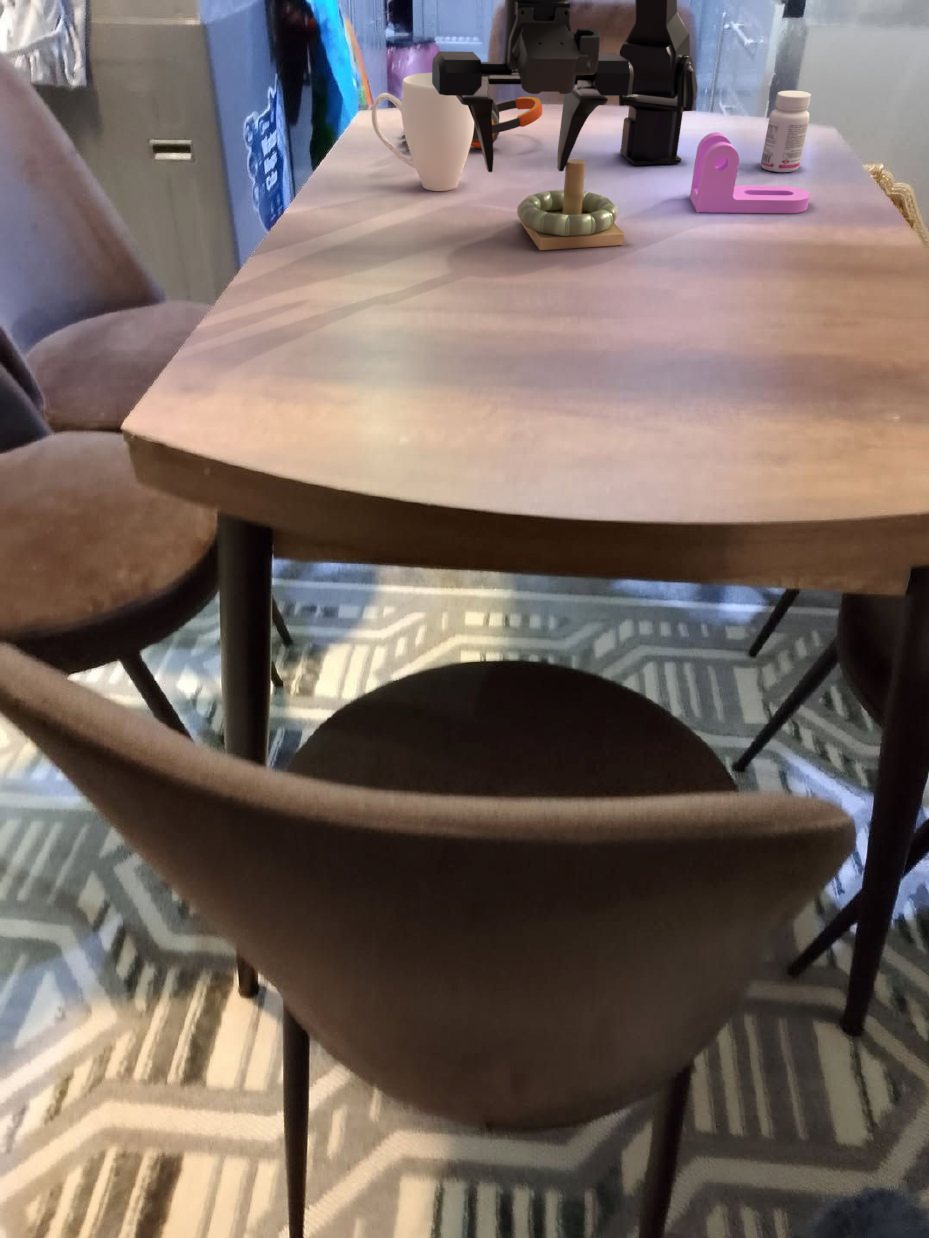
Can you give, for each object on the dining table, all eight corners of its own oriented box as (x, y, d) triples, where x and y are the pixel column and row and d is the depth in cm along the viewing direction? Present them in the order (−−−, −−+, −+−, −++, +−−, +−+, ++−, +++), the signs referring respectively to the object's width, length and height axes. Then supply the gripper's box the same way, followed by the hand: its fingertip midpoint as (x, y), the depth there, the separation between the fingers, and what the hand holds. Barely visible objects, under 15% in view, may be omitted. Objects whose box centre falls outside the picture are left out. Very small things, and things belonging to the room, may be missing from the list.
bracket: (696, 212, 103) (707, 145, 99) (689, 197, 107) (699, 132, 103) (812, 213, 103) (828, 146, 98) (800, 198, 107) (815, 133, 102)
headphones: (399, 107, 131) (536, 71, 128) (409, 146, 134) (542, 112, 131) (390, 138, 118) (541, 98, 115) (401, 180, 122) (548, 143, 118)
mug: (474, 176, 114) (474, 72, 106) (473, 196, 108) (474, 87, 100) (379, 176, 114) (372, 72, 107) (372, 196, 108) (365, 87, 100)
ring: (600, 204, 101) (601, 185, 100) (628, 235, 94) (630, 215, 92) (508, 210, 100) (509, 190, 99) (530, 241, 92) (531, 221, 91)
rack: (599, 218, 102) (605, 147, 97) (623, 245, 95) (631, 171, 90) (520, 222, 100) (523, 151, 96) (539, 250, 94) (543, 175, 89)
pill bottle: (801, 165, 118) (817, 91, 112) (794, 175, 114) (811, 99, 109) (763, 161, 119) (778, 88, 114) (756, 170, 116) (771, 95, 110)
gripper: (449, -5, 75) (446, 195, 85) (664, -1, 78) (636, 192, 88) (431, -20, 84) (430, 164, 94) (626, -17, 86) (605, 162, 96)
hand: (525, 171), depth 93 cm, fingers open, 7 cm apart
